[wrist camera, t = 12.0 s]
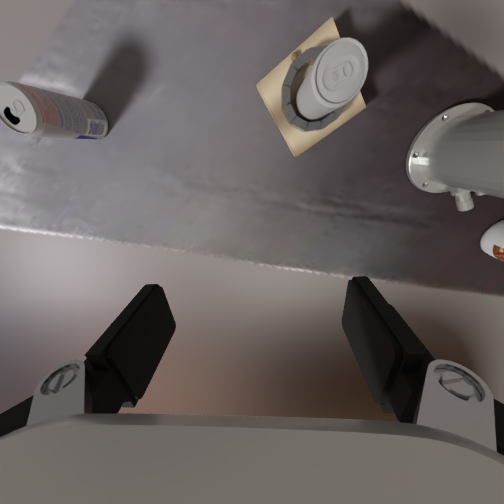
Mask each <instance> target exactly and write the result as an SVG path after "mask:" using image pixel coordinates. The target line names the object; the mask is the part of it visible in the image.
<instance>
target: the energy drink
mask: <svg viewBox="0 0 504 504" xmlns="http://www.w3.org/2000/svg"><path fill="white" fill-rule="evenodd" d="M0 120H1V121H2V122H3V123H4V124H5V125H6V126H7V127H8V128H9V129H11V130H12V131H14V132H16V133H19V134H23V135H26V136H30V137H48V138H76V139H101V138H103V137H105V135H106V134H107V131H108V122H107V118H106V116H105V114H104V113H103V111H102V110H101V109H100V108H99V107H98V106H97V105H96V104H94V103H93V102H90V101H87V100H83V99H79V98H75V97H71V96H67V95H63V94H59V93H55V92H51V91H47V90H43V89H39V88H35V87H31V86H28V85H24V84H20V83H15V82H10V81H9V82H0Z"/></svg>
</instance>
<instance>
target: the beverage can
mask: <svg viewBox="0 0 504 504" xmlns="http://www.w3.org/2000/svg"><path fill="white" fill-rule="evenodd" d="M367 72H368V57H367V53H366V50H365V48H364V47H363V45H362V44H361V43H360V42H359V41H357V40H356V39H353V38H350V37H349V38H340V39H338V40H335V41H334V42H332V43H331V44H329V45H328V46H327V47H325V48H324V50H323V51H322V52H321V53H320V54H319V55H318V57H317V59H316V61H315V62H314V64H313V66H312V67H311V69H310V71H309V72H308V74H307V76H306V78H305V79H304V81H303V83H302V84H301V86H300V88H299V90H298V92H297V95H296V109H297V111H298V113H299V115H300V116H301V117H302V118H304V119H306V120H316V119H318V118H320V117H322V116H324V115H326V114H328V113H330V112H332V111H334V110H336V109H338V108H340V107H342V106H344V105H345V104H347V103H349V102H350V101H351V100H352V99H353V98H354V97H355V96H356V95H357V93H358V92H359V91H360V89H361V88H362V86H363V84H364V82H365V79H366V77H367Z"/></svg>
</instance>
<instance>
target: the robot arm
mask: <svg viewBox="0 0 504 504" xmlns="http://www.w3.org/2000/svg"><path fill="white" fill-rule="evenodd" d="M413 154H414V155H413ZM406 171H407V176H408V178H409V180H410V182H411V183H412V184H413V185H414V186H415V187H417V188H418V189H420V190H423V191H427V192H431V193H441V192H447V191H450V192H451V195H452V196H455V199H456V200H455V201H456V205H457V209H458V210H459V211H467V210H470V209H472V208H473V207H474V204H473V199H472V196H471V194H470V192H471V191H474V192H475V194H476V195H478V196H480V195H484V194H487V195H492V196H497V197H501V198H504V110H501V111H494V110H493V109H492V108H491V107H490V106H487V105H485V104H482V103H465V104H461V105H456V106H453V107H451V108H448V109H446V110H444V111H443V112H441V113H439V114H437V115H436V116H435V117H433V118H432V119H431V120H430V121H428V122H427V124H426V125H425V126H424V127H423V128H422V129H421V130H420V131H419V133H418V134H417V135H416V137H415V138H414V140H413V142H412V144H411V146H410V148H409V151H408V154H407V159H406ZM342 327H343V329H344V332H345V334H346V336H347V339H348V341H349V344H350V346H351V348H352V350H353V353H354V355H355V358H356V360H357V362H358V365H359V367H360V369H361V372H362V374H363V376H364V379H365V381H366V383H367V386H368V388H369V390H370V392H371V395H372V398H373V399H374V401H375V402H376V403H379V404H380V406H381V408H382V410H383V413H395V414H396V417H397V419H398V421H400V422H401V423H400V422H391V421H374V420H373V421H372V420H353V419H330V418H296V417H262V416H223V415H220V416H219V415H180V414H179V415H178V414H119V413H118V412H119V410H120V408H121V406H122V407H135V406H136V404H137V402H138V400H139V399H141V398H142V397H143V395H144V393H145V391H146V389H147V387H148V385H149V383H150V381H151V379H152V377H153V374H154V373H155V371H156V369H157V366H158V364H159V362H160V360H161V358H162V356H163V354H164V352H165V350H166V348H167V346H168V344H169V342H170V340H171V338H172V336H173V334H174V331H175V328H176V324H175V321H174V318H173V315H172V313H171V310H170V307H169V304H168V301H167V299H166V296H165V293H164V290H163V288H162V287H160V286H159V285H158V284H148V285H145V286H144V287H143V288H142V289H141V290H140V291H139V293H138V294H137V295H136V296H135V297H134V298H133V299H132V301H131V302H130V303H129V304H128V306H126V308H125V309H124V310H123V311H122V312H121V314H120V315H119V316H118V317H117V318H116V319H115V321H114V322H113V323H112V324H111V325H110V326H109V327H108V328H107V330H106V331H105V332H104V333H103V335H102V336H101V337H100V338H99V339H98V340H97V341H96V342H95V344H94V345H93V346H92V347H91V348H90V349H89V351H88V352H87V353H86V354H85V356H86V357H87V359H86V360H85V361H84V362H82V361H81V360H73V361H69V362H66V363H64V364H62V365H60V366H58V367H57V368H55V369H54V370H52V371H51V372H50V373H48V374H47V375H46V376H45V377H44V378H43V379H42V380H41V381H40V383H39V384H38V386H37V387H36V390H35V392H34V395H33V396H32V397H30V398H28V399H26V400H25V401H23V402H21V403H19V404H17V405H16V406H14V407H12V408H10V409H9V410H7V411H5V412H3V413H1V414H0V504H504V404H502V403H501V402H499V401H497V400H495V399H493V396H492V393H491V391H490V389H489V388H488V386H487V385H486V383H485V382H484V381H483V380H482V379H481V378H480V377H478V376H477V375H476V374H475V373H473V372H472V371H470V370H469V369H467V368H465V367H463V366H461V365H460V364H457V363H454V362H452V361H447V360H435V359H434V357H433V356H432V355H431V354H430V352H429V351H428V350H427V349H426V347H425V346H424V345H423V344H422V342H421V341H420V340H419V339H418V337H417V336H416V335H415V334H414V333H413V331H412V330H411V328H410V327H409V326H408V325H407V323H406V322H405V321H404V320H403V318H402V317H401V316H400V315H399V313H398V312H397V311H396V310H395V308H394V307H393V306H392V305H390V304H388V303H387V301H386V300H385V299H384V297H383V296H382V295H381V293H380V292H379V291H378V290H377V288H376V287H375V286H374V284H373V283H372V282H371V281H370V279H369V278H368V277H366V276H361V277H353V278H352V280H349V281H348V286H347V292H346V299H345V305H344V311H343V317H342Z"/></svg>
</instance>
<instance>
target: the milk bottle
mask: <svg viewBox="0 0 504 504" xmlns="http://www.w3.org/2000/svg"><path fill="white" fill-rule="evenodd" d="M480 246H481V248H482V250H483V251H484V252H485V253H487V254H489V255H491V256H493V257H495V258H497V259H499V260H501V261H503V262H504V220H501V221H499V222H497V223H495V224H494V225H492V226H491V227H490V228H488V229H487V230H486V231H485V233H484V234H483V235H482V238H481V241H480Z"/></svg>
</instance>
